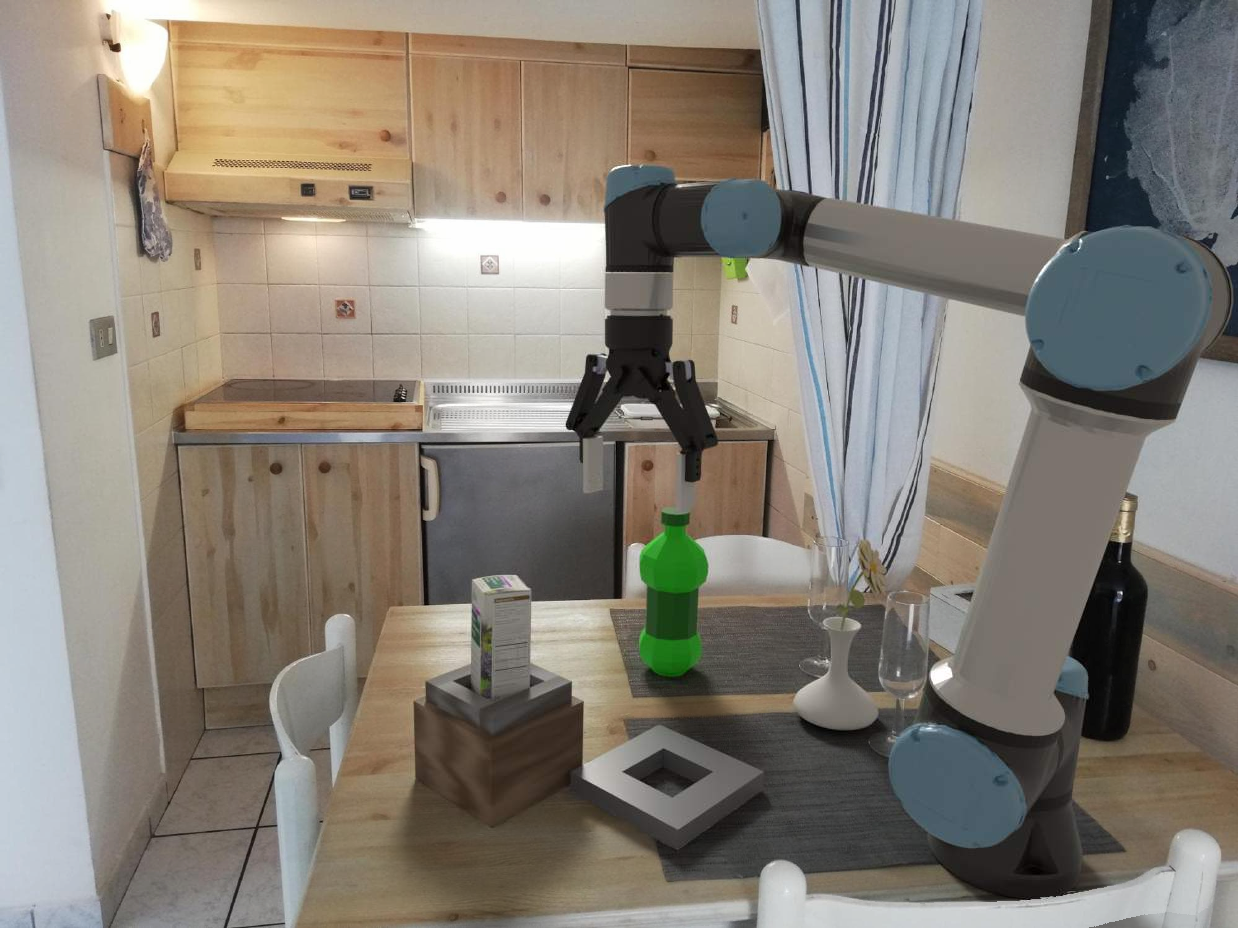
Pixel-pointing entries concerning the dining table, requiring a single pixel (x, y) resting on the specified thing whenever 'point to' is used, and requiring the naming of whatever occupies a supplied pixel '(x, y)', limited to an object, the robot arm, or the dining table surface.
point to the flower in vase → (844, 661)
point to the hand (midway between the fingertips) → (637, 500)
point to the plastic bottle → (672, 597)
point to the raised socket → (497, 743)
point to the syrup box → (500, 636)
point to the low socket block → (653, 811)
